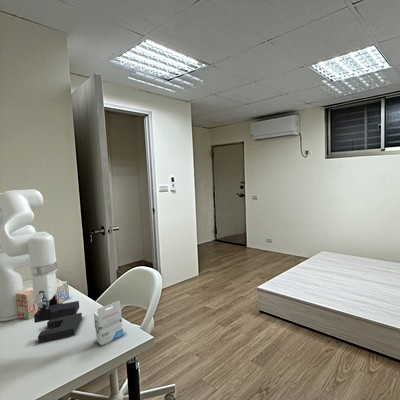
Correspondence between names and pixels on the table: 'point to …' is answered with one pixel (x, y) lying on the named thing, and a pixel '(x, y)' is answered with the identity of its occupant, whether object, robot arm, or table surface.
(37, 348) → the table surface
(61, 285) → the stack of blocks
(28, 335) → the table surface
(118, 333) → the ink box
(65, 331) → the socket pad
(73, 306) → the pad
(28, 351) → the table surface
